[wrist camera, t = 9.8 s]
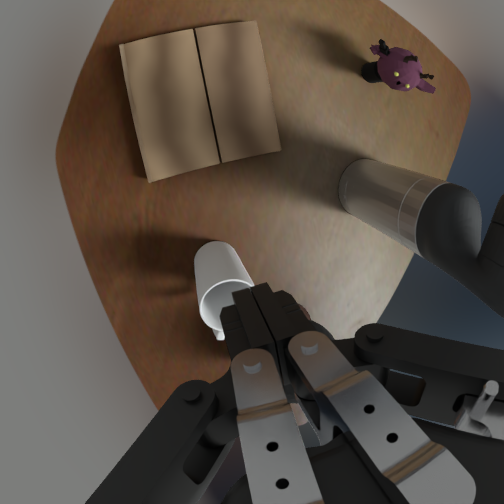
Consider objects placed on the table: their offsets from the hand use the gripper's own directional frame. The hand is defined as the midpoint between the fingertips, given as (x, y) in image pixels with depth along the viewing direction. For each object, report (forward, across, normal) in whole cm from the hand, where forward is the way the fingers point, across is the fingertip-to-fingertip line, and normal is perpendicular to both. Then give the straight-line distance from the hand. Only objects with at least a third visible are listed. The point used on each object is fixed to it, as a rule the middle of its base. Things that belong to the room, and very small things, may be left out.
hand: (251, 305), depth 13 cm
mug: (+29, +1, +13) cm, 32 cm away
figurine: (+29, -28, -12) cm, 42 cm away
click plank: (+29, +2, -11) cm, 31 cm away
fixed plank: (+29, -7, -11) cm, 32 cm away
